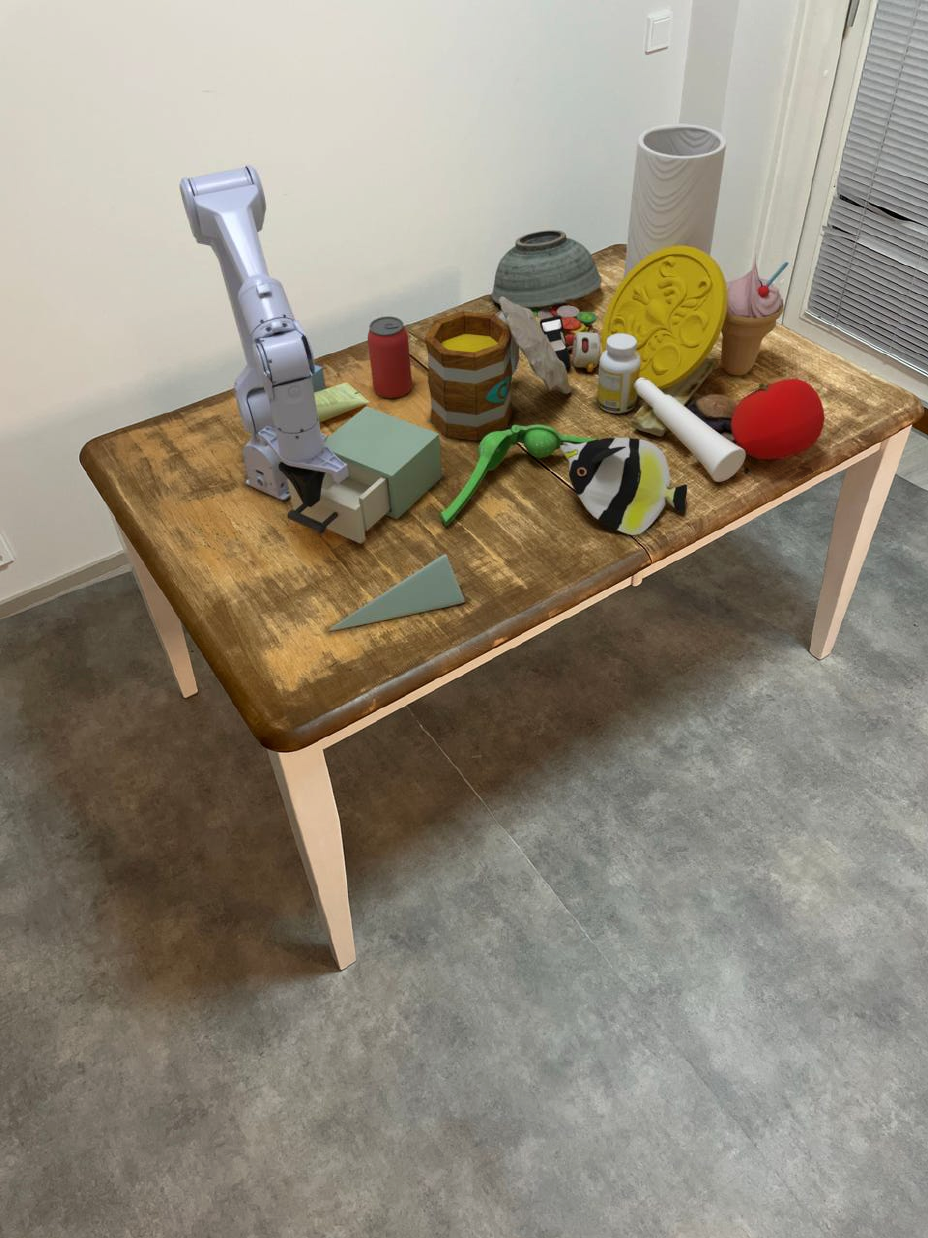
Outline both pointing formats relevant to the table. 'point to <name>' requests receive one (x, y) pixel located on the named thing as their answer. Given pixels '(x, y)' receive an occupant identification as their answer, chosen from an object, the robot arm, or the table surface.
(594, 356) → the roller toy
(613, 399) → the pill bottle
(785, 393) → the tomato
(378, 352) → the beer can
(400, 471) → the drawer cabinet
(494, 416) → the mug
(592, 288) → the bowl
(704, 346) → the decorative medallion
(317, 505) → the cream drawer
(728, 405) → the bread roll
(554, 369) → the stone tool
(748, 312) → the ice cream cone
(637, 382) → the cosmetic bottle
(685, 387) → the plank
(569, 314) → the toy food set
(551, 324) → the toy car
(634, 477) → the fish
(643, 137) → the vase
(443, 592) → the thin wedge-shaped triangle plate
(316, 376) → the pale blue cube
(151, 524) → the table surface
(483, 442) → the lime squeezer
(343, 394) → the tube
